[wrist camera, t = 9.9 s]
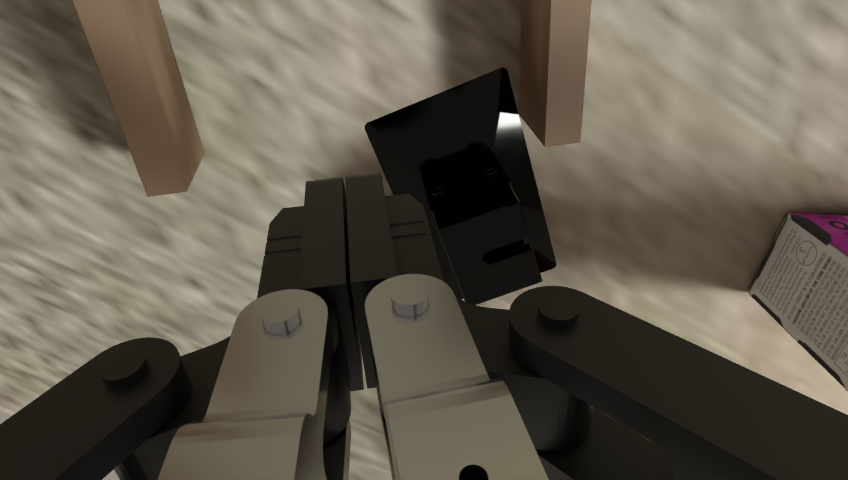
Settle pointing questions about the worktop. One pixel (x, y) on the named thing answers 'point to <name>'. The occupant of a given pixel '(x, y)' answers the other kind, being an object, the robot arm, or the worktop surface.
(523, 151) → the black block
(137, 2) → the walnut lane
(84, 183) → the worktop surface
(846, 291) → the candy bar box
